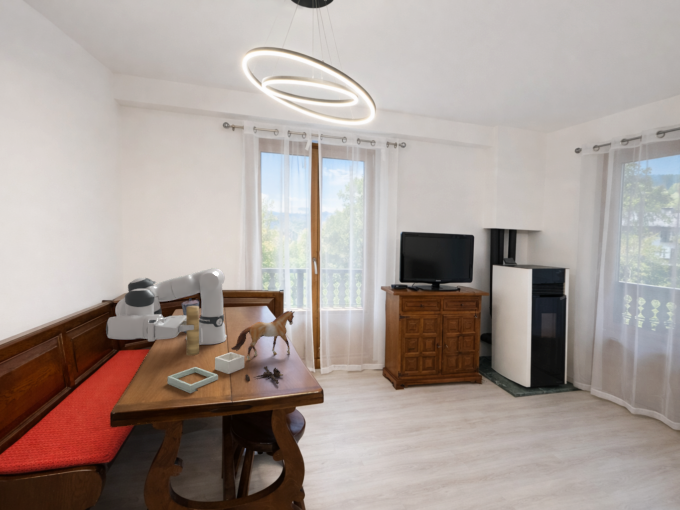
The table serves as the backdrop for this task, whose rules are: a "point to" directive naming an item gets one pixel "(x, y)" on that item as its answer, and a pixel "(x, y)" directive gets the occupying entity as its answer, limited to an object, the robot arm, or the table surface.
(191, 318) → the dowel
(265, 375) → the bear figurine
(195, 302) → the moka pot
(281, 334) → the horse figurine
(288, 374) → the table surface
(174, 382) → the tray
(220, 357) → the white square box
